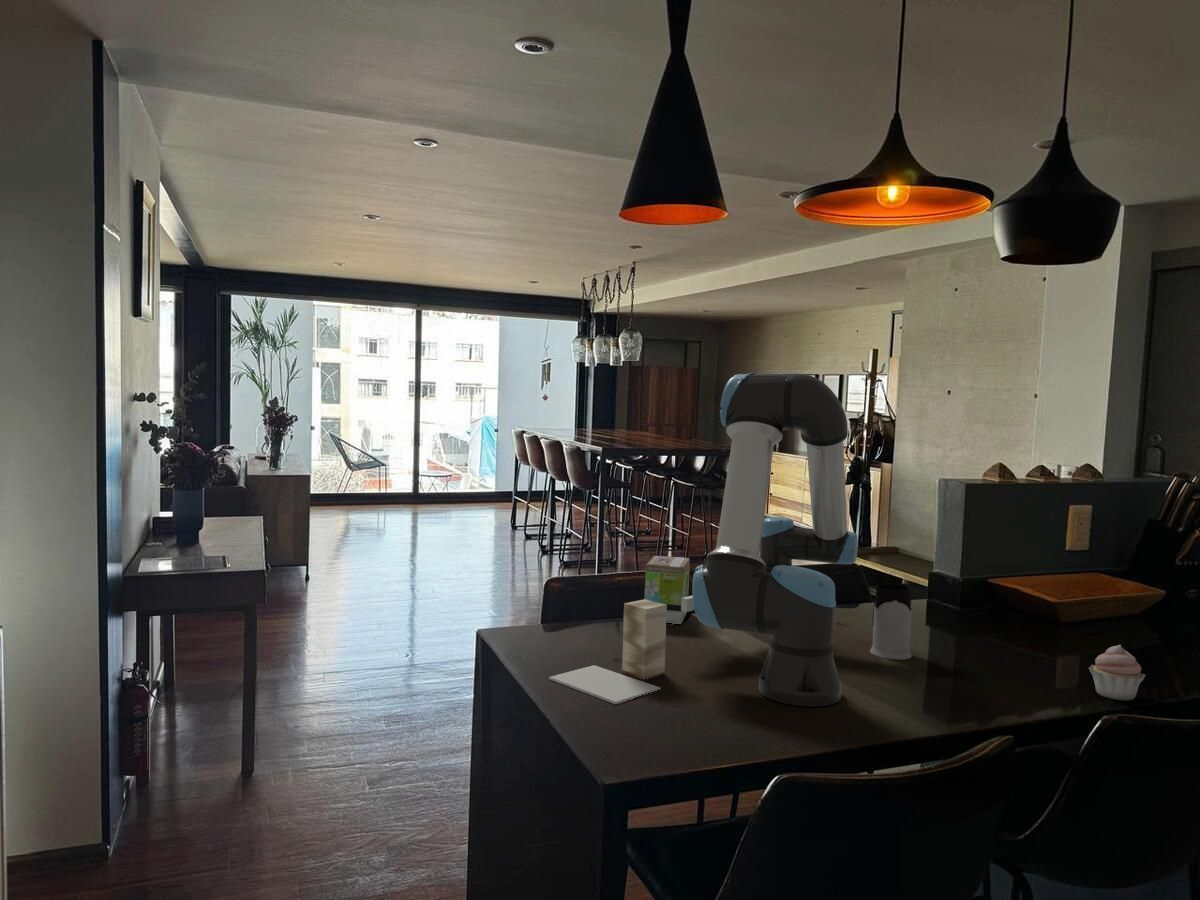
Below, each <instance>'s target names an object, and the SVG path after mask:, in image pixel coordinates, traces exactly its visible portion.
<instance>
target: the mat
mask: <svg viewBox="0 0 1200 900" xmlns="http://www.w3.org/2000/svg"><path fill="white" fill-rule="evenodd" d="M548 679H549V681H553V682H554V683H558V684H560V685H563V686H565V687H568V688H571V689H573V690H576V691H579V692H581V693H584V694H587V695H590V696H591V697H594V698H596V699H600V700H602V701H605V702H609V703H611V704H613V705H619V704H622V703H624V702H625V703H626V702H629V701H631V700H634V698H635V699H637V698H636V697H638V698H640V697H639V696H641V697H643V696H642V695H644V696H646V695H645V694H647V695H649V694H648V693H650V694H652V693H651V692H654V691H657V690H660V689H661V687H660V686H656V685H653V684H650V683H649V682H648V683H647V682H645V681H643V680H639V679H637V678H634V677H632V676H629V675H626V674H623V673H618V672H615V671H613V670H610V669H606V668H603V667H601V666H598V665H590V666H586V667H582V668H578V669H574V670H570V671H567V672H563V673H560V674H559V673H558V674H555V675H552V676H549V678H548ZM660 691H661V690H660ZM657 692H658V691H657ZM654 693H655V692H654ZM628 700H629V701H628Z"/></svg>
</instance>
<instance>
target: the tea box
mask: <svg viewBox="0 0 1200 900" xmlns="http://www.w3.org/2000/svg"><path fill="white" fill-rule="evenodd" d="M690 562H691V559H690V557H681V556H680V557H679V556H677V557H676V556H664V555H653V556H652V558H651V559H650V560H648V562H647V563H646V564H645V581H644V596H643V597H644V598H643V600H644V599H645V600H649V601H653V602H657V603H661V604H666V605H667V614H666V623H672V624H671V625H674V624H681V625H682V623H683V621H684V619H685V617H686V615H687V612H685V611H681V599H682V598H683V597H688V596H689V591H690V589H689V587H690V567H691V563H690Z"/></svg>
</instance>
